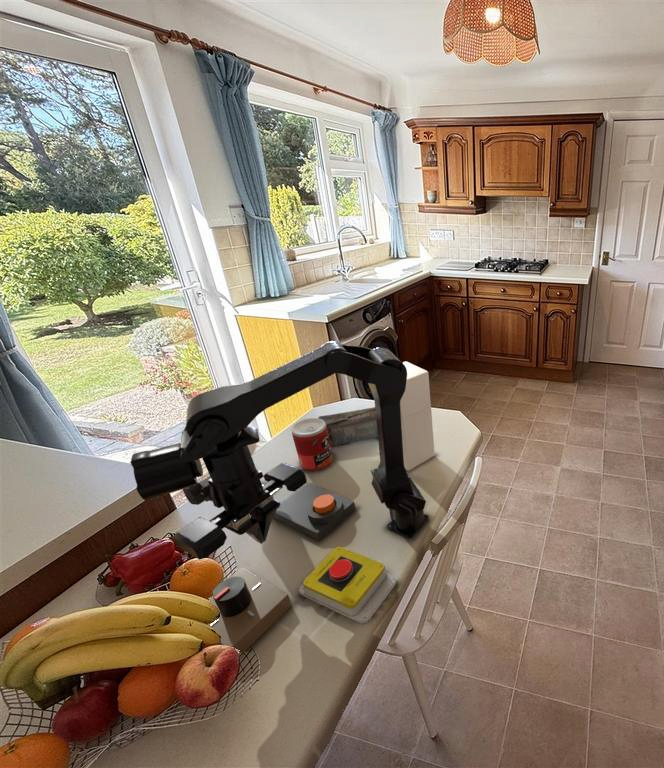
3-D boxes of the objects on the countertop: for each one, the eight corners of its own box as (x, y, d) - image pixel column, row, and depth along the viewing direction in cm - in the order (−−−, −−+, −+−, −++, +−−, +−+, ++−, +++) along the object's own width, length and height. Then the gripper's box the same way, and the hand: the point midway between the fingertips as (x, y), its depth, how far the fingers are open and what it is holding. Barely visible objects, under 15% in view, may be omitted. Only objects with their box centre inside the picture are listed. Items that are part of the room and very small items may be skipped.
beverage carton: (321, 433, 116) (317, 413, 113) (390, 421, 122) (388, 402, 119) (320, 448, 109) (316, 428, 106) (393, 435, 116) (391, 416, 113)
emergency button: (331, 537, 78) (396, 563, 73) (335, 553, 80) (399, 579, 75) (291, 576, 70) (361, 608, 65) (297, 593, 72) (365, 625, 67)
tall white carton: (387, 457, 107) (375, 371, 96) (414, 442, 113) (406, 360, 102) (408, 471, 102) (398, 383, 91) (435, 455, 108) (428, 371, 97)
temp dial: (240, 588, 69) (232, 571, 67) (257, 598, 68) (250, 581, 66) (214, 610, 66) (205, 592, 64) (231, 621, 64) (223, 604, 62)
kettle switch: (339, 504, 87) (337, 497, 86) (324, 516, 83) (322, 510, 83) (325, 498, 88) (324, 491, 87) (310, 510, 85) (308, 503, 84)
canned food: (322, 473, 101) (313, 437, 96) (293, 468, 102) (283, 432, 97) (339, 455, 107) (332, 420, 102) (312, 450, 109) (304, 416, 104)
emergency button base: (357, 509, 90) (354, 496, 88) (320, 542, 82) (317, 527, 80) (310, 489, 95) (307, 476, 94) (272, 517, 87) (267, 503, 86)
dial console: (292, 605, 70) (287, 593, 68) (235, 661, 62) (229, 648, 60) (246, 578, 74) (241, 566, 73) (187, 626, 66) (181, 614, 65)
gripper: (254, 427, 73) (276, 493, 80) (132, 493, 58) (174, 567, 65) (298, 443, 69) (318, 510, 76) (180, 518, 54) (219, 594, 61)
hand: (261, 541), depth 70 cm, fingers closed
